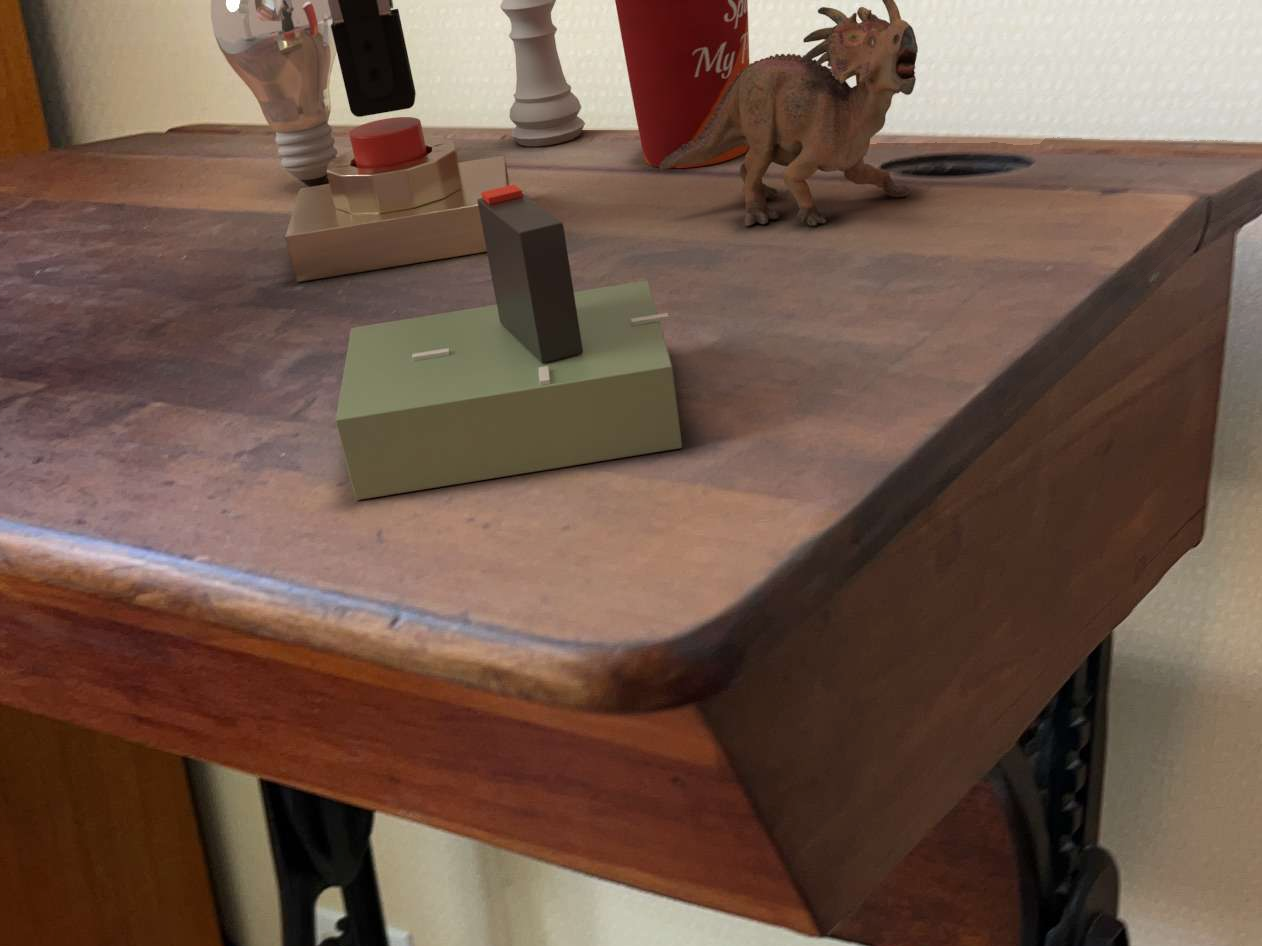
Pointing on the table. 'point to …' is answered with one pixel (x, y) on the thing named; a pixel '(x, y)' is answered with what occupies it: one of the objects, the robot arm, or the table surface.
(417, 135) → the red button
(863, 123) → the dinosaur figurine
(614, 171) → the table surface
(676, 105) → the coffee cup
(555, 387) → the control panel
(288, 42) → the light bulb
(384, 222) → the button block
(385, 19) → the robot arm
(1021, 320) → the table surface
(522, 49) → the rook chess piece
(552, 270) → the block
